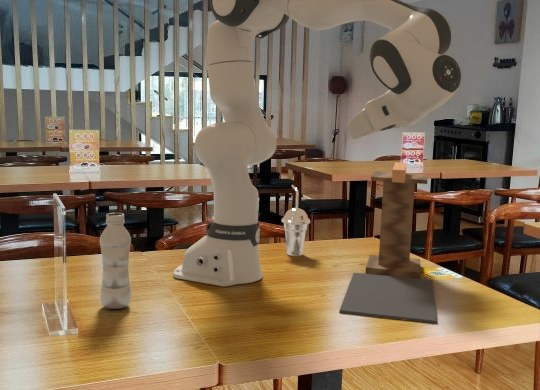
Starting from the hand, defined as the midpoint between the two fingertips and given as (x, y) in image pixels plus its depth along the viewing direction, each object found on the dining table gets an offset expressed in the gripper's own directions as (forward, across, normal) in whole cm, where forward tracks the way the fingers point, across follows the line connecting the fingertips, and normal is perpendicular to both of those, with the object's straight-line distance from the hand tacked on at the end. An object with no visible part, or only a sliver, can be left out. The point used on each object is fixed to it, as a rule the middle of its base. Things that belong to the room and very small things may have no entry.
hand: (374, 129), depth 137 cm
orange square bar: (+12, -9, +12) cm, 19 cm away
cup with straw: (+48, +11, +19) cm, 52 cm away
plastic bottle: (+16, +67, +16) cm, 70 cm away
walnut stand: (+27, -5, +34) cm, 43 cm away
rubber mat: (+9, +9, +37) cm, 39 cm away
